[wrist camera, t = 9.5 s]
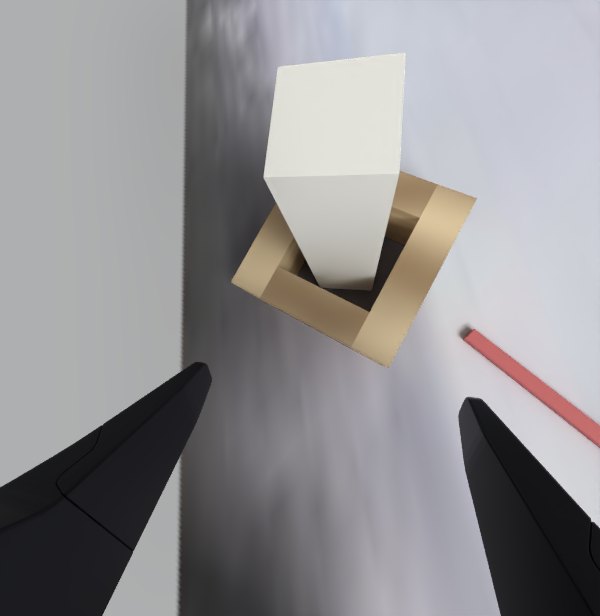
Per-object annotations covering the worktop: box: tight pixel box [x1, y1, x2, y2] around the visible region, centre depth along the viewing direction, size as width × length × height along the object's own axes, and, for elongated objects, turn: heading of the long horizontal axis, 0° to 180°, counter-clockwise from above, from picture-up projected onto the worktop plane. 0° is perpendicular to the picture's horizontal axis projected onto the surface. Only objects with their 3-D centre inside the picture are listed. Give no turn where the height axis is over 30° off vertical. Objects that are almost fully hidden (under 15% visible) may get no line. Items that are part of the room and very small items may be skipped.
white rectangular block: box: [263, 53, 406, 290], centre depth 14 cm, size 4×4×12 cm
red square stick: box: [463, 329, 600, 447], centre depth 15 cm, size 14×1×1 cm, turn 47°
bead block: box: [231, 171, 477, 368], centre depth 18 cm, size 10×10×4 cm
